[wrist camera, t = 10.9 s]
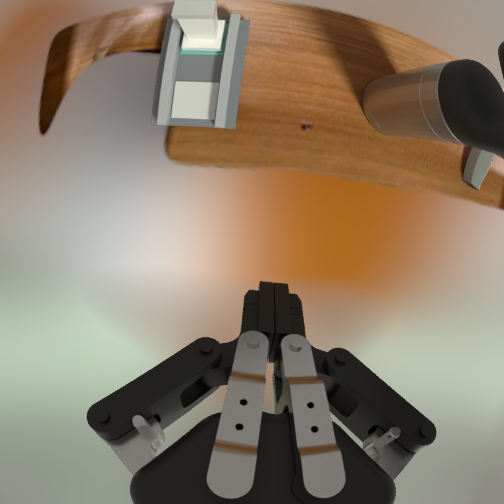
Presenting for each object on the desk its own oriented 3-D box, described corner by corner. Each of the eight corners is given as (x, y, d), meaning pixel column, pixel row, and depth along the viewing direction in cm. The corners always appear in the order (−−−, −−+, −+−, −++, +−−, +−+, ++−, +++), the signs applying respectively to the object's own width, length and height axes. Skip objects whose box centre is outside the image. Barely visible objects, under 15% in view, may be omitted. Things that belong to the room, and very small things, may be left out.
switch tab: (188, 22, 25) (174, -12, 16) (225, 23, 26) (223, -12, 17) (183, 50, 27) (165, 22, 18) (220, 51, 28) (216, 22, 18)
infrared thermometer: (455, 176, 40) (476, 110, 33) (485, 200, 42) (505, 141, 35) (470, 183, 36) (492, 113, 29) (498, 207, 38) (519, 145, 31)
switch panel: (170, 23, 27) (165, 13, 23) (249, 25, 28) (251, 15, 25) (155, 125, 33) (146, 124, 30) (234, 129, 34) (235, 128, 31)
